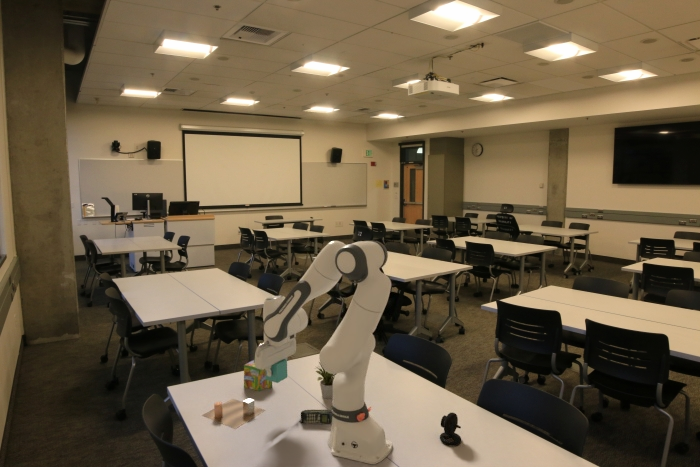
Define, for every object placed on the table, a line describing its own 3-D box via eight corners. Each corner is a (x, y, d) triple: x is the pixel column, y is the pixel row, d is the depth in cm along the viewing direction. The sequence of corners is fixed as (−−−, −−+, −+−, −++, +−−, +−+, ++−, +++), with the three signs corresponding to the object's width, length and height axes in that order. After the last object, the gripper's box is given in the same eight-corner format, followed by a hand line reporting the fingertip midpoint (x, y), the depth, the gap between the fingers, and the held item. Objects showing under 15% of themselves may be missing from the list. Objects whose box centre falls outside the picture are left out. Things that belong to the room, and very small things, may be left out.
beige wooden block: (254, 412, 174) (254, 400, 174) (248, 415, 172) (248, 403, 171) (248, 410, 176) (248, 398, 175) (243, 413, 173) (243, 401, 173)
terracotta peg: (224, 415, 172) (224, 403, 171) (218, 419, 169) (217, 406, 169) (219, 413, 173) (218, 401, 173) (212, 416, 171) (212, 404, 170)
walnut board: (265, 413, 176) (265, 410, 176) (235, 432, 163) (235, 428, 162) (233, 402, 185) (233, 398, 185) (201, 419, 172) (201, 415, 172)
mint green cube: (287, 377, 173) (286, 359, 173) (277, 382, 168) (276, 365, 168) (276, 374, 176) (275, 357, 176) (265, 379, 171) (265, 362, 171)
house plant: (329, 409, 180) (329, 370, 178) (303, 399, 188) (303, 361, 186) (350, 396, 191) (350, 359, 189) (325, 387, 199) (325, 351, 197)
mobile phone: (300, 412, 168) (340, 411, 168) (301, 408, 171) (340, 407, 171) (300, 425, 168) (340, 424, 169) (301, 421, 171) (340, 420, 172)
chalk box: (243, 390, 196) (242, 357, 195) (257, 382, 204) (256, 350, 203) (260, 394, 192) (259, 361, 190) (273, 386, 200) (272, 354, 198)
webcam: (445, 432, 163) (446, 405, 162) (465, 439, 159) (465, 412, 157) (435, 441, 157) (436, 414, 156) (455, 449, 153) (455, 421, 151)
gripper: (262, 347, 160) (264, 384, 162) (298, 331, 178) (299, 365, 179) (250, 344, 164) (251, 380, 165) (286, 329, 181) (287, 362, 182)
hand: (276, 372), depth 172 cm, fingers closed on mint green cube, 6 cm apart
